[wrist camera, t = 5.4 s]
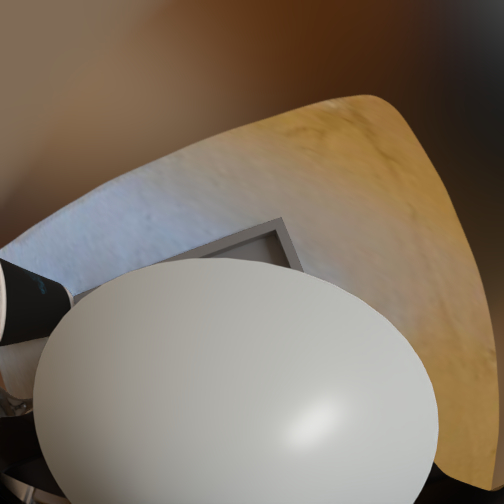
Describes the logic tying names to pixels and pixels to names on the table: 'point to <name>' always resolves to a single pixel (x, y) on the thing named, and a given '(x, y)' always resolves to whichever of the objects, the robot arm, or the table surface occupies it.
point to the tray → (245, 248)
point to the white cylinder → (232, 392)
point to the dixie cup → (29, 304)
